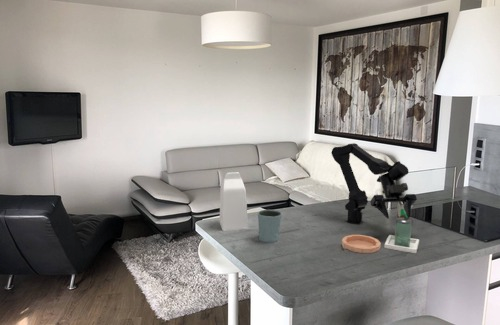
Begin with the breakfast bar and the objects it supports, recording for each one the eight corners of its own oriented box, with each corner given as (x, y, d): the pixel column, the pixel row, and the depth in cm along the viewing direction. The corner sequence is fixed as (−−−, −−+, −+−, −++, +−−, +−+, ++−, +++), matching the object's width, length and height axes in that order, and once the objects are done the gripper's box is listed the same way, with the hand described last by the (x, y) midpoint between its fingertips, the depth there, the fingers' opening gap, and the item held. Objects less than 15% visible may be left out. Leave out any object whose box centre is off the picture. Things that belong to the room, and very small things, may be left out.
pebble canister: (392, 246, 163) (394, 221, 161) (395, 241, 169) (396, 216, 167) (409, 249, 161) (411, 223, 159) (410, 244, 166) (412, 218, 164)
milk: (222, 230, 185) (221, 176, 180) (219, 222, 196) (218, 170, 191) (248, 228, 187) (247, 174, 182) (243, 220, 198) (243, 169, 193)
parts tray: (384, 250, 162) (384, 244, 162) (388, 240, 173) (389, 234, 172) (415, 255, 157) (416, 249, 157) (418, 245, 167) (419, 239, 167)
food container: (413, 225, 191) (415, 205, 189) (400, 224, 192) (401, 204, 191) (408, 217, 203) (410, 198, 201) (396, 216, 204) (397, 197, 202)
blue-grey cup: (254, 236, 177) (254, 210, 175) (274, 233, 181) (274, 208, 179) (264, 244, 168) (264, 217, 166) (285, 241, 172) (285, 214, 170)
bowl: (338, 250, 162) (338, 244, 161) (347, 238, 175) (347, 232, 174) (376, 258, 155) (376, 251, 154) (382, 244, 168) (383, 238, 167)
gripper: (374, 176, 169) (383, 209, 160) (416, 175, 170) (428, 208, 162) (366, 190, 178) (374, 221, 169) (406, 189, 180) (417, 220, 171)
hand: (398, 217), depth 168 cm, fingers open, 9 cm apart
